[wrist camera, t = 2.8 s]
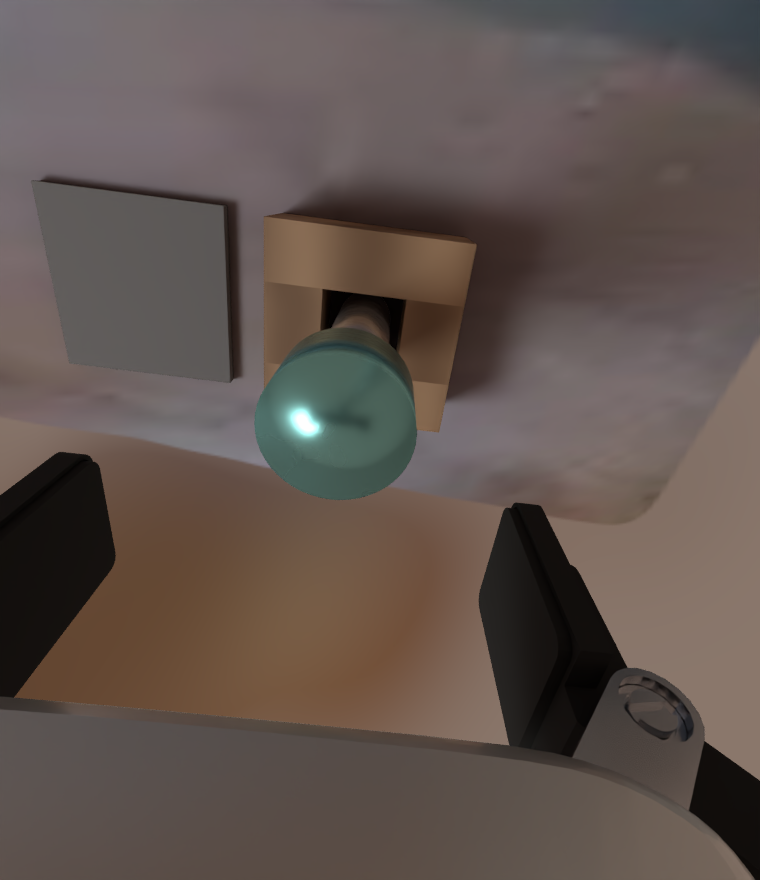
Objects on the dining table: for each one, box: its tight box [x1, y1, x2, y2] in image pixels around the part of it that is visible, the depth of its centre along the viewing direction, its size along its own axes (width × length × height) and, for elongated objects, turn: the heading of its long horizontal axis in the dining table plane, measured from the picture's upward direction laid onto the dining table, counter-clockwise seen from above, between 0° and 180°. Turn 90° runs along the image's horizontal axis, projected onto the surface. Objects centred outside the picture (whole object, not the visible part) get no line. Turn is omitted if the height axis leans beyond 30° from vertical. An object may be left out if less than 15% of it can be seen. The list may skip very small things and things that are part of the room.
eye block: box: [264, 213, 477, 432], centre depth 26 cm, size 10×10×4 cm
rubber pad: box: [31, 181, 233, 383], centre depth 27 cm, size 10×10×1 cm
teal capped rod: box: [254, 293, 417, 500], centre depth 21 cm, size 5×5×15 cm
